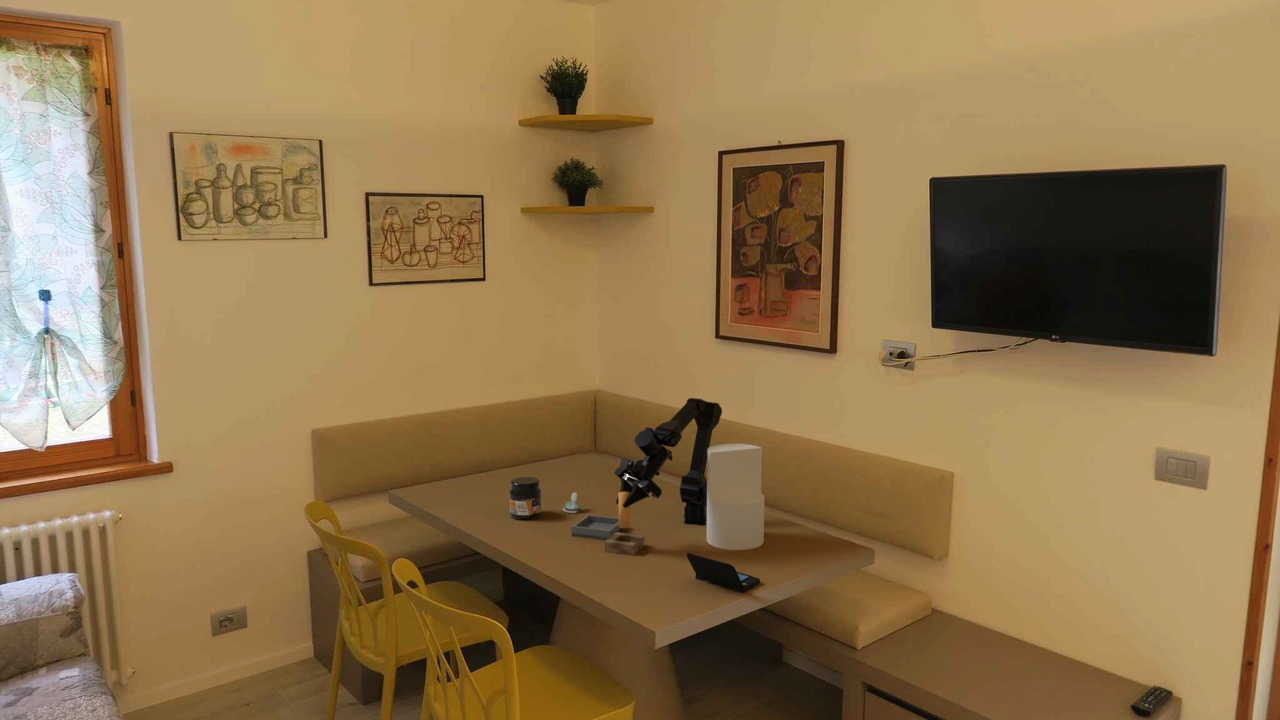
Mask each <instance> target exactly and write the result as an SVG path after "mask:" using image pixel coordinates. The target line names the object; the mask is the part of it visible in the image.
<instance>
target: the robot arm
mask: <svg viewBox="0 0 1280 720" xmlns="http://www.w3.org/2000/svg"><path fill="white" fill-rule="evenodd" d="M722 414H723V408H722V406H720V404H719V403H718V402H711V401H706V400H704V399H702V398H696V397H690V398H688V399H687V400H686V403H684V405H683V406H682V407H681V408H680V409H679V410H678V411H677V412H676V414H674V415H673V417H671V419H670V420H668V421H665V422H662V423H660V424H658V426H656V427H655V429H653V428H652V427H649V426H648V427H647V426H646V427H645V429H644V430H642V431H639V432H638V433H637V434H636V435H635V437H634V443H635V445H636V447H637V448H638V449H639V450H640V451H641V453H643V454H644V455H645V456H644V457H643V459H642V458H639V459H638V458H635V459H634V460H632V459H630V458H627V457H624V456H622V458H621V460H620V462H619V465H618V467H616V470H614V472H613V474H614V475H615V476H616V477H617V478H619V480H620V483H621V486H620V488H619V492H630V494H629V496H628V497H627V499H626V500H625V502H624V504H623V507H624V508H626V507H628V506H630V507H631V506H632V505H634V504H635V503H637V502H639V501H642V500H644V499H646V498H650V497H651V496H652V497H653V498H655V499H659V498H660V497H661V496H662V493H663V492H662V488H661V487H660V486H659V485H658V484H657V483H656V482H655V481H654V480H653V479H654V477H656V476H657V477H659V476H660V474H661V473H660V470H661V468H662V467H663V465H665V462H667V460H669V461H670V462H671V461H673V451H672V450H670V449H667V448H666V447H669V448H675V447H676V446H677V445H678V443H680V441H681V439H682V433H683V431H684V430H685V428H687V427H688V426H689V424H690V423H691V422H692V421H693V420H694V422H695V425H696V433H695V434H696V435H695V439H694V444H693V449H692V455H691V460H690V465H689V471H688V473H686V475H682V477H681V480H680V481H681V482H680V485H679V495H680V499H681V503H685V506H684V510H683V511H684V515H683V517H684V522H683V523H684V524H689V525H699V526H700V525H701V526H704V525H705V524H707V477H706V475H705V473H706V469H707V468H706V467H707V449H708V448H709V447H711V440H712V434H713V430H714V429H715V428H716V427H717V426H718V425H719V423H720V420H721V416H722ZM650 493H651V496H650ZM615 503H616V504H617V505H618V506H619V498H618V497H617V498H616V502H615Z"/></svg>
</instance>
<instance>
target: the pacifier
mask: <svg viewBox="0 0 1280 720" xmlns="http://www.w3.org/2000/svg"><path fill="white" fill-rule="evenodd" d="M570 497H571V498H570V499H571V500H570V501H569V500H568V501H566V502H565V503H564V507H563V508H562V512H564V513H567V514H576V513H578V512H579V510H580V509H582V508H584V505H581V506H578V505H577V502H578V500H579V495H578V493H577V492H576V491H575V492H572V494H571V496H570Z"/></svg>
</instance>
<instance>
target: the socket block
mask: <svg viewBox="0 0 1280 720" xmlns="http://www.w3.org/2000/svg"><path fill="white" fill-rule="evenodd" d="M644 546H645V535H642V534H635V533H633V534H632V533H626V532H616V533H615V534H613V535H612V536H611V537H610V538H609V539H608V540H604V552H605V551H606V552H607V553H612V552H613V553H612V554H621V555H629V556H635V555H636V554H637V553H638V552H639V550H641V549H642V548H643V547H644ZM606 552H605V553H606Z"/></svg>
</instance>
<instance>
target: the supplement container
mask: <svg viewBox="0 0 1280 720" xmlns="http://www.w3.org/2000/svg"><path fill="white" fill-rule="evenodd" d="M509 481H510V482H509V483H510V488H509V491H508V494H509V495H508V496H509V515H510V517H511V518H513V519H515V520H519V519H522V520H521V521H523V520H525V521H526V520H527V519H529V520H533V518H534V519H536V518H538V517H540V516H541V514H542V489H541V487H540V479H539V478H537V477H533V476H519V477H514V478H512V479H511V480H509ZM527 521H528V520H527Z"/></svg>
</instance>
